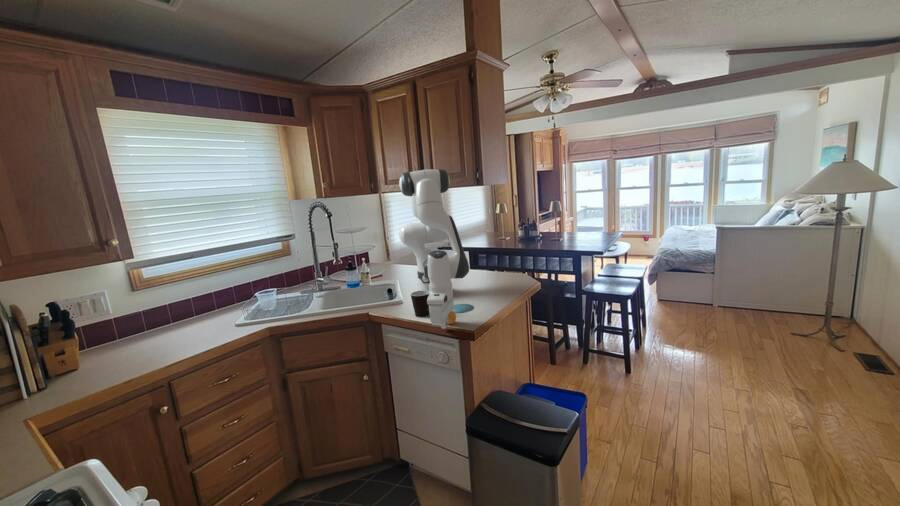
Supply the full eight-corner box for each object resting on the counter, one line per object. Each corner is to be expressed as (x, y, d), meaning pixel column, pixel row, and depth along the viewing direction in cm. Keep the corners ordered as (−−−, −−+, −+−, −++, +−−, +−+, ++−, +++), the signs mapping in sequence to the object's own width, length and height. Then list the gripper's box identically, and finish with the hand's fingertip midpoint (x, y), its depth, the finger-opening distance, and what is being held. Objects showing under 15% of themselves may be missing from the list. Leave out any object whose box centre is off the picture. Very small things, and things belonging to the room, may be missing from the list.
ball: (445, 321, 153) (444, 308, 152) (458, 321, 151) (457, 308, 150) (441, 326, 148) (440, 313, 147) (455, 326, 146) (453, 313, 145)
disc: (451, 304, 175) (451, 303, 175) (475, 304, 172) (475, 303, 172) (444, 312, 163) (444, 312, 163) (470, 312, 160) (470, 312, 160)
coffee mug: (423, 319, 158) (421, 296, 156) (408, 316, 163) (406, 294, 161) (440, 310, 167) (438, 289, 165) (425, 308, 172) (423, 288, 170)
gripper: (441, 285, 151) (444, 317, 153) (425, 301, 131) (429, 337, 134) (455, 285, 149) (458, 317, 152) (442, 301, 130) (445, 338, 132)
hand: (444, 327), depth 143 cm, fingers closed
